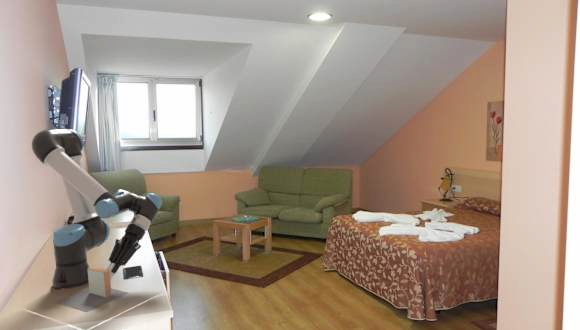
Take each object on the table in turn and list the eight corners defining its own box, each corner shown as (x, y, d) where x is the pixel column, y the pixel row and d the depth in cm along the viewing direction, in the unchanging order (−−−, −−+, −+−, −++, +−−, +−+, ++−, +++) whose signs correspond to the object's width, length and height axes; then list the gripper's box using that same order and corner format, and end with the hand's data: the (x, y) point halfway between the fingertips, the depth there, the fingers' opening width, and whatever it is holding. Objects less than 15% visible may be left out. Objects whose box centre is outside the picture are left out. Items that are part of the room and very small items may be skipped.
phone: (123, 279, 177) (123, 268, 191) (123, 282, 177) (123, 270, 191) (143, 276, 180) (141, 265, 194) (143, 278, 180) (141, 267, 194)
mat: (55, 303, 157) (55, 302, 157) (99, 286, 172) (98, 284, 172) (86, 313, 148) (86, 312, 148) (129, 294, 163) (129, 292, 163)
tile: (89, 293, 164) (86, 268, 163) (94, 291, 166) (92, 266, 165) (106, 298, 159) (103, 272, 158) (111, 295, 161) (109, 270, 160)
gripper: (121, 221, 178) (88, 273, 165) (143, 224, 171) (111, 278, 159) (132, 230, 183) (101, 281, 170) (154, 233, 176) (123, 287, 164)
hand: (106, 279), depth 164 cm, fingers closed
